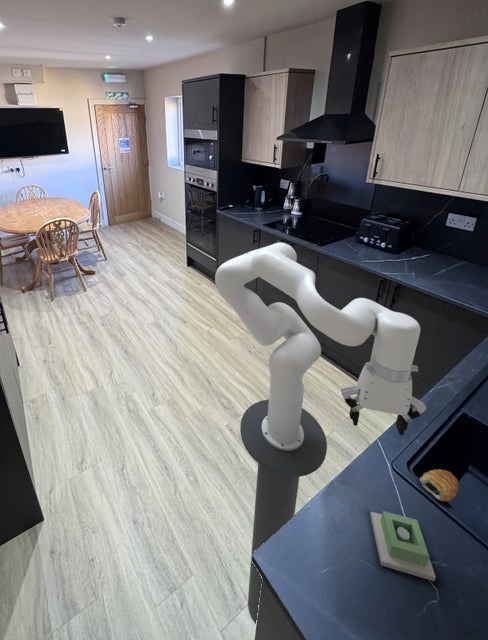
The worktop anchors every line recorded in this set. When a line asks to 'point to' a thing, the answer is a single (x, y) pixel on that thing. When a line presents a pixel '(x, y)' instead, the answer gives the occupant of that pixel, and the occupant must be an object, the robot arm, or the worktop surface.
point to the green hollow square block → (402, 549)
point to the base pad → (395, 562)
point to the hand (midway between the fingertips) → (376, 425)
